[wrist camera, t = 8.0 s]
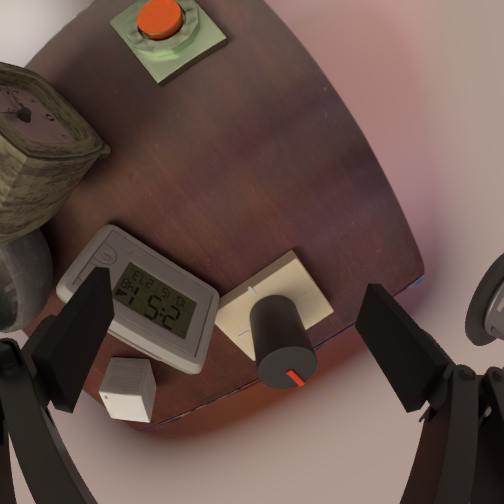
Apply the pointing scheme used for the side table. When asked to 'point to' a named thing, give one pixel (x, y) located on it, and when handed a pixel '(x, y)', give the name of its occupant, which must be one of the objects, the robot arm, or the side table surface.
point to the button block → (170, 40)
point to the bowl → (24, 280)
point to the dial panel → (266, 284)
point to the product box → (129, 389)
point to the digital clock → (149, 299)
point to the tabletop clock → (39, 151)
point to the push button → (160, 18)
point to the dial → (281, 343)
